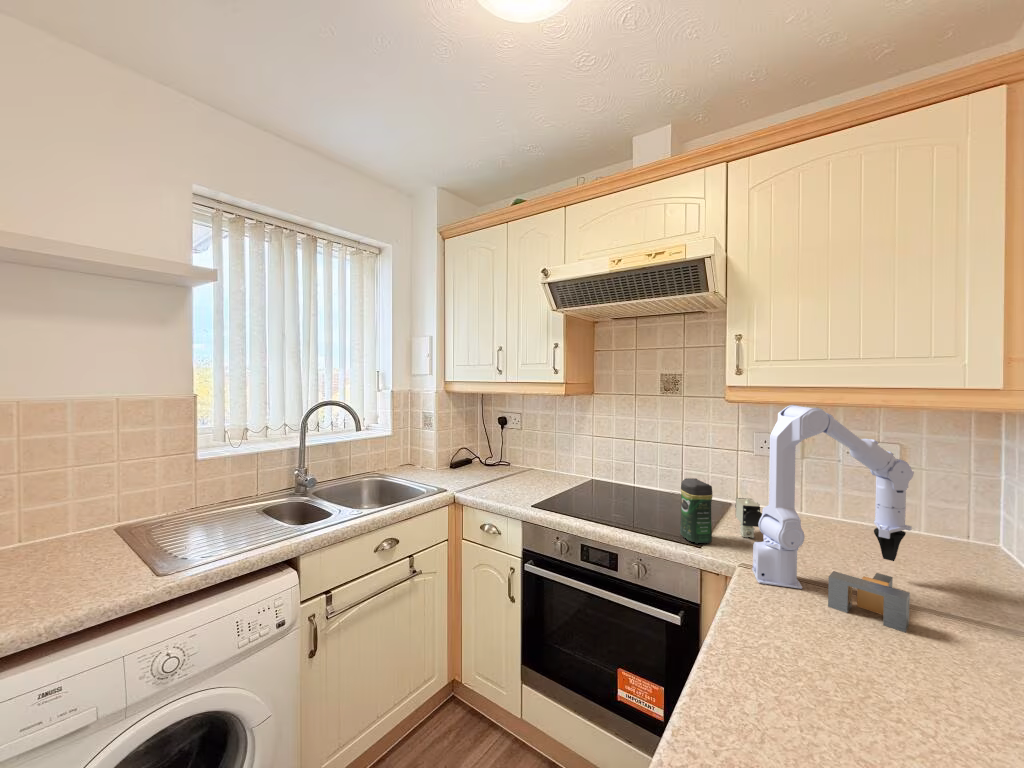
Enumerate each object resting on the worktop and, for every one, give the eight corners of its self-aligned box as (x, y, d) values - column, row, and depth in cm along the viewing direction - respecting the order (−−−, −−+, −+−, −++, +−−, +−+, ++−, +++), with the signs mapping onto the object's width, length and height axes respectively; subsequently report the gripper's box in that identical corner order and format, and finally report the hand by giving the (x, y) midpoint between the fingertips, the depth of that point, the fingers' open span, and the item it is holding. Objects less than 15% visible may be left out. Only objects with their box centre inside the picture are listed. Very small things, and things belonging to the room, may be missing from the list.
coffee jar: (716, 544, 133) (717, 483, 132) (691, 545, 132) (691, 484, 131) (700, 533, 142) (700, 476, 142) (676, 533, 142) (677, 476, 141)
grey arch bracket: (832, 600, 101) (833, 570, 100) (908, 625, 91) (909, 592, 91) (827, 606, 98) (828, 576, 98) (905, 632, 88) (906, 599, 88)
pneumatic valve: (744, 542, 134) (744, 503, 134) (734, 529, 146) (734, 493, 145) (764, 544, 133) (764, 504, 133) (752, 530, 144) (753, 494, 144)
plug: (872, 583, 109) (872, 563, 108) (896, 590, 105) (896, 569, 105) (857, 606, 98) (857, 584, 98) (883, 614, 95) (883, 592, 95)
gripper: (906, 515, 102) (905, 573, 102) (916, 503, 111) (914, 556, 112) (868, 508, 107) (867, 563, 108) (880, 497, 117) (879, 547, 117)
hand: (889, 559), depth 110 cm, fingers closed
